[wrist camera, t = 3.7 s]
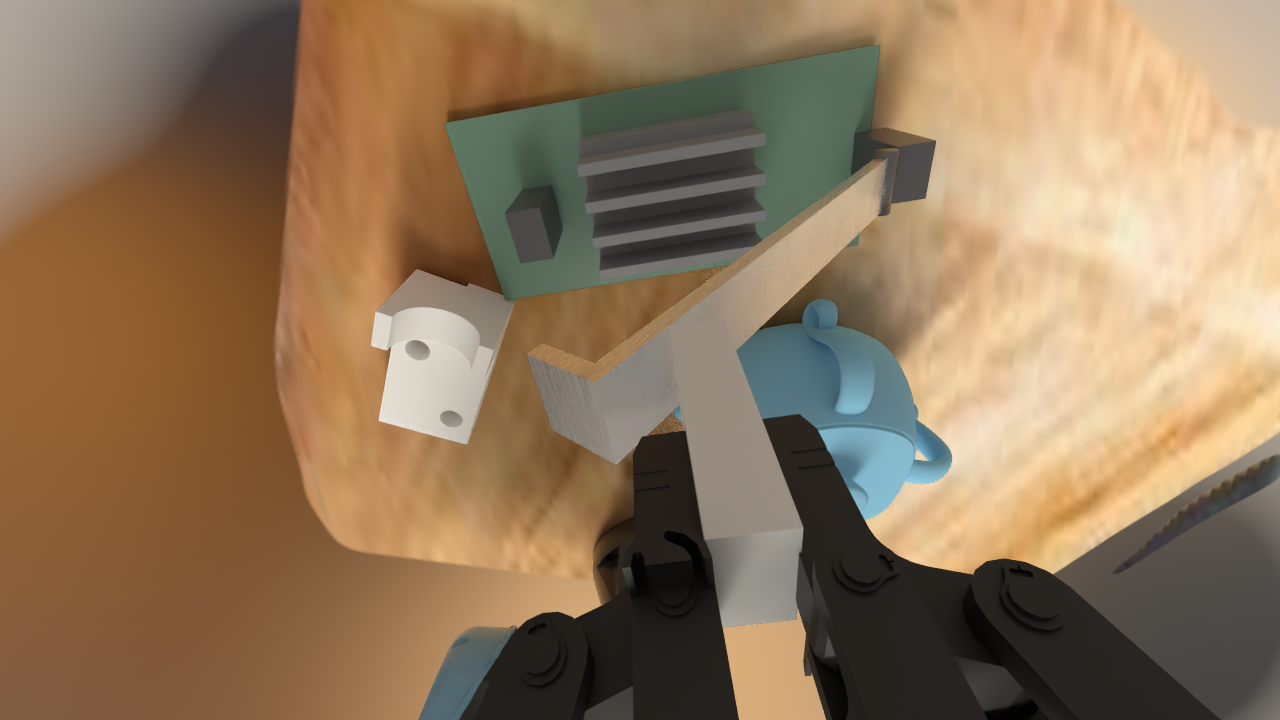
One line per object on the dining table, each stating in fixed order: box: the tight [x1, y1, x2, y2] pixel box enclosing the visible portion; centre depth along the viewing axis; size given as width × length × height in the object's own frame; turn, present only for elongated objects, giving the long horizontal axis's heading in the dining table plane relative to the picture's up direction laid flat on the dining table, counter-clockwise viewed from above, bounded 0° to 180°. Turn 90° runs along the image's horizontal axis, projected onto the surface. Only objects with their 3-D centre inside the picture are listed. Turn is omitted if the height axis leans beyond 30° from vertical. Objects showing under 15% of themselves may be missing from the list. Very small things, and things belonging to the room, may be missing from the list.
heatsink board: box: [444, 45, 936, 300], centre depth 28 cm, size 12×27×6 cm, turn 99°
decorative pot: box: [673, 299, 952, 520], centre depth 35 cm, size 16×16×14 cm
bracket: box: [371, 269, 515, 445], centre depth 35 cm, size 13×7×8 cm, turn 156°
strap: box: [526, 148, 899, 465], centre depth 19 cm, size 3×23×3 cm
